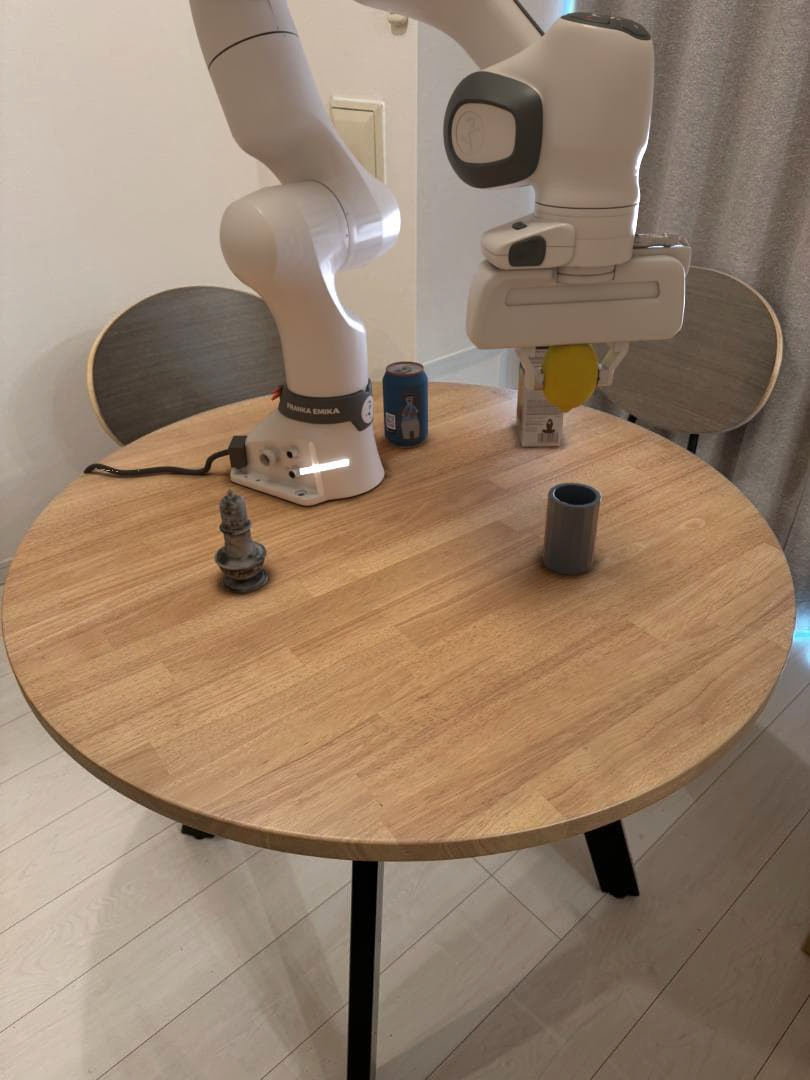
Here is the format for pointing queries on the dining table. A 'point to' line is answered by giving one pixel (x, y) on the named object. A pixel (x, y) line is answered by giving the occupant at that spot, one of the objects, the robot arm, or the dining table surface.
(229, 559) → the grey chess piece
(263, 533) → the dining table surface
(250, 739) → the dining table surface
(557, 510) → the cup
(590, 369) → the lemon
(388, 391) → the soda can
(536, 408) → the coffee box
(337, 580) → the dining table surface
